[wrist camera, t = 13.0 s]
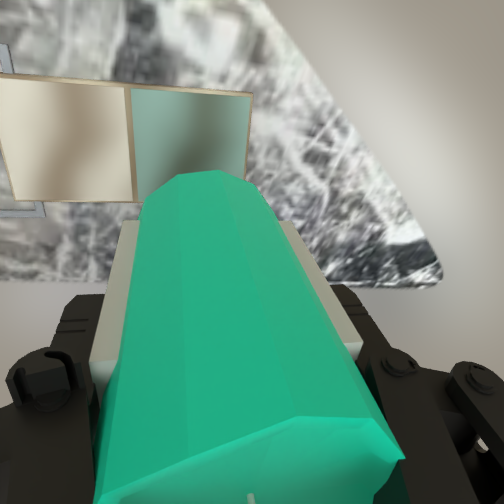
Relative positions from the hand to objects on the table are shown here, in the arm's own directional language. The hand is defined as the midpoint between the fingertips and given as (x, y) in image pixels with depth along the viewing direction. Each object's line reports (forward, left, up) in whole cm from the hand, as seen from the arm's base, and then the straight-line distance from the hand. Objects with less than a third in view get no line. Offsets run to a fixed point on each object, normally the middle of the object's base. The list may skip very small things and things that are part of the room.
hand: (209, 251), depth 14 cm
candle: (0, 0, -1) cm, 1 cm away
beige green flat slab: (-4, 0, -14) cm, 15 cm away
